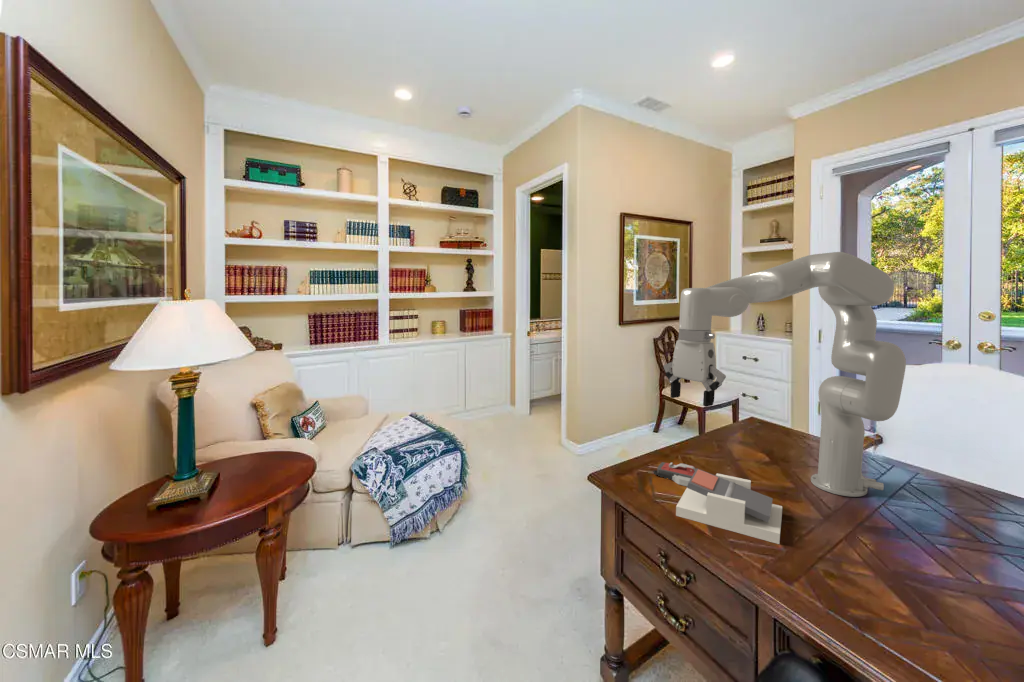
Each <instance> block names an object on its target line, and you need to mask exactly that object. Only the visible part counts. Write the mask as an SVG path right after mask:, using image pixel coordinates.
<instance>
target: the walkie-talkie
mask: <svg viewBox="0 0 1024 682" xmlns="http://www.w3.org/2000/svg"><path fill="white" fill-rule="evenodd" d="M696 469H697V468H696V467H695V465H691V464H686V463H681V462H680V463H679V464H674V463H673V462H670V463H669V462H663V461H662V462H661V463H660V464H658V466H657V470H653V471H652V472H653V474H654V475H655V476H657V475H658V476H660V477H659V478H662V477H664V478H663V479H666V478H668V479H667V480H670V479H671V481H673V482H675V483H676V484H677V485H680V486H683V487H687V486H688V482H689V481H690V479H691V477H692V476H693V474H694V472H695V470H696ZM658 476H657V477H658Z"/></svg>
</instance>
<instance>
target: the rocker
mask: <svg viewBox="0 0 1024 682" xmlns="http://www.w3.org/2000/svg"><path fill="white" fill-rule="evenodd" d="M686 488H689V489H691V490H693V491H696V492H698V493H700V494H703V495H705V496H707V494H708V492H709V493H713V494H717V495H722V496H726V497H730V498H734V499H739V500H743V501H745V513H747V514H749V515H752V516H754V517H756V518H759V519H761V520H763V521H766V522H769V519H770V514H771V507H772V504H773V497H771V496H767V495H765V494H763V493H760V492H758V491H755V490H753V489H751V490H750V489H748V488H745V487H743V486H740V485H738V484H736V483H735V482H732V481H728V480H725V479H723V478H720V477H718V476H716V474H715V475H714V474H712V473H710V472H707V471H705V470H703V469H700V468H696V470H695V472H694V474H693V476H692V477H691V479H690V481H689V482H688V486H686Z"/></svg>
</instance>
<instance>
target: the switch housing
mask: <svg viewBox="0 0 1024 682" xmlns="http://www.w3.org/2000/svg"><path fill="white" fill-rule="evenodd" d="M715 476H718V477H720V478H723V479H725V480H728V481H732V482H735V483H736V484H738V485H740V486H743V487H745V488H748V489H750V490H752V488H751V487H752V480H750V479H746V478H741V477H736V476H733V475H727V474H722V473H716V474H715ZM675 516H676V517H680V518H683V519H687V520H690V521H694V522H696V523H697V522H698V523H701V524H703V525H704V524H705V525H708V526H712V527H715V528H719V529H723V530H726V531H730V532H734V533H738V534H741V535H744V536H748V537H752V538H755V539H758V540H762V541H766V542H770V543H773V544H777V545H780V541H781V529H782V518H783V506H782V505H779V504H775V503H772V507H771V514H770V519H769V522H766V521H763V520H761V519H759V518H756V517H754V516H752V515H749V514H747V513H745V501H743V500H739V499H734V498H730V497H726V496H722V495H717V494H713V493H709V492H708V494H707V496H705V495H703V494H700V493H698V492H696V491H693V490H691V489H689V488H687V487H686V489H685V490H684V492H683V494H682V495H681V497H680V499H679V500H678V502H677V504H676V506H675Z"/></svg>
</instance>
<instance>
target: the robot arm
mask: <svg viewBox="0 0 1024 682" xmlns="http://www.w3.org/2000/svg"><path fill="white" fill-rule="evenodd" d="M894 284H895V283H894V281H893V279H892V277H891V276H890V275H889V274H888V273H886V272H885V271H883V270H882V269H880V268H878V267H876V266H874V265H872V264H870V263H869V262H867V261H866V260H863V259H862V258H860V257H857V256H856V255H853V254H851V253H848V252H843V251H832V252H825V253H824V252H822V253H815V254H809V255H805V256H803V257H799V258H796V259H793V260H791V261H788V262H785V263H782V264H779V265H776V266H773V267H769V268H767V269H764V270H759V271H756V272H753V273H749V274H746V275H742V276H739V277H736V278H731V279H729V280H725V281H721V282H717V283H715V284H713V285H710V286H708V287H689V288H687V287H686V288H683V289H682V290H681V292H680V300H679V301H680V304H679V322H678V323H679V325H678V339H677V340H676V341H675V342H676V343H675V346H674V351H673V357H672V361H670V362H668V363H666V364H664V365H663V369H664V372H665V376H666V378H667V379H668V382H669V383H670V398H672V399H676V398H679V397H681V389H682V388H681V387H682V384H681V382H680V380H681V379H682V380H686V381H687V380H688V381H692V382H697V383H698V382H699V383H702V385H703V387H704V388H705V389H706V390H704V391H703V401H702V402H703V403H702V405H703V407H706V408H707V407H711V406H713V405H714V402H715V392H716V391H717V390H718V388H720V387H721V386H722V384H723V383H724V381H725V379H727V378H726V377H727V375H726V374H725V373H724V372H722V371H720V370H719V369H718V368H717V359H716V358H717V355H716V349H715V344H714V342H711V341H712V340H714V339H715V337H716V335H715V333H713V332H712V317H713V316H715V317H716V316H718V317H722V318H723V317H724V318H733V317H734V318H735V317H737V316H740V315H742V314H743V313H745V311H746V310H747V309H748V306H749V305H750V304H755V303H770V302H774V301H778V300H779V301H780V300H782V299H785V298H788V297H791V296H794V295H796V294H799V293H801V292H805V291H808V290H811V289H814V288H817V289H818V294H819V296H820V297H821V299H822V300H823V301H824V302H825V303H826V304H827V305H828V306H829V307H830V309H831V310H832V311H833V314H834V316H835V329H834V336H833V344H832V348H831V349H832V350H831V354H830V355H831V356H830V357H831V360H830V361H831V365H833V367H834V368H835V369H837V370H839V371H841V372H845V373H850V374H853V375H854V374H855V375H858V376H865V380H863V379H859V378H854V377H849V376H842V375H836V376H830V377H827V378H825V379H824V380H823V381H822V382H821V383H820V385H819V388H818V400H819V405H820V406H819V407H820V414H821V415H820V416H821V417H820V419H821V420H820V436H819V450H818V465H817V468H818V469H817V473H814V474H812V475H811V477H810V481H811V483H812V484H813V486H815V487H816V488H818V489H820V490H822V491H824V492H828V493H831V494H834V495H837V496H838V495H839V496H843V497H853V498H856V497H857V498H858V497H864V496H866V495H867V494H868V489H869V488H870V489H874V490H879V491H884V487H885V486H884V485H885V484H884V482H879V481H877V479H875V478H874V479H873V478H868V477H866V476H864V475H863V472H862V469H863V468H862V467H863V457H864V456H863V455H864V444H865V443H864V442H865V433H866V432H865V425H864V421H863V419H867V420H869V421H874V422H884V421H887V420H890V419H891V418H892V417H893V416H894V415H895V413H897V410H898V407H899V404H900V399H901V395H902V389H903V385H904V379H905V374H906V367H907V362H906V356H905V353H904V352H903V350H902V348H901V347H900V346H898V345H897V344H894V343H892V342H889V341H882V340H876V336H877V335H876V334H877V325H878V323H877V322H878V321H877V316H876V313H875V311H874V309H873V308H872V307H875V306H880V305H883V304H884V303H887V302H888V301H889V300H890V299H891V298H892V296H893V294H894V291H895V285H894Z"/></svg>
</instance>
